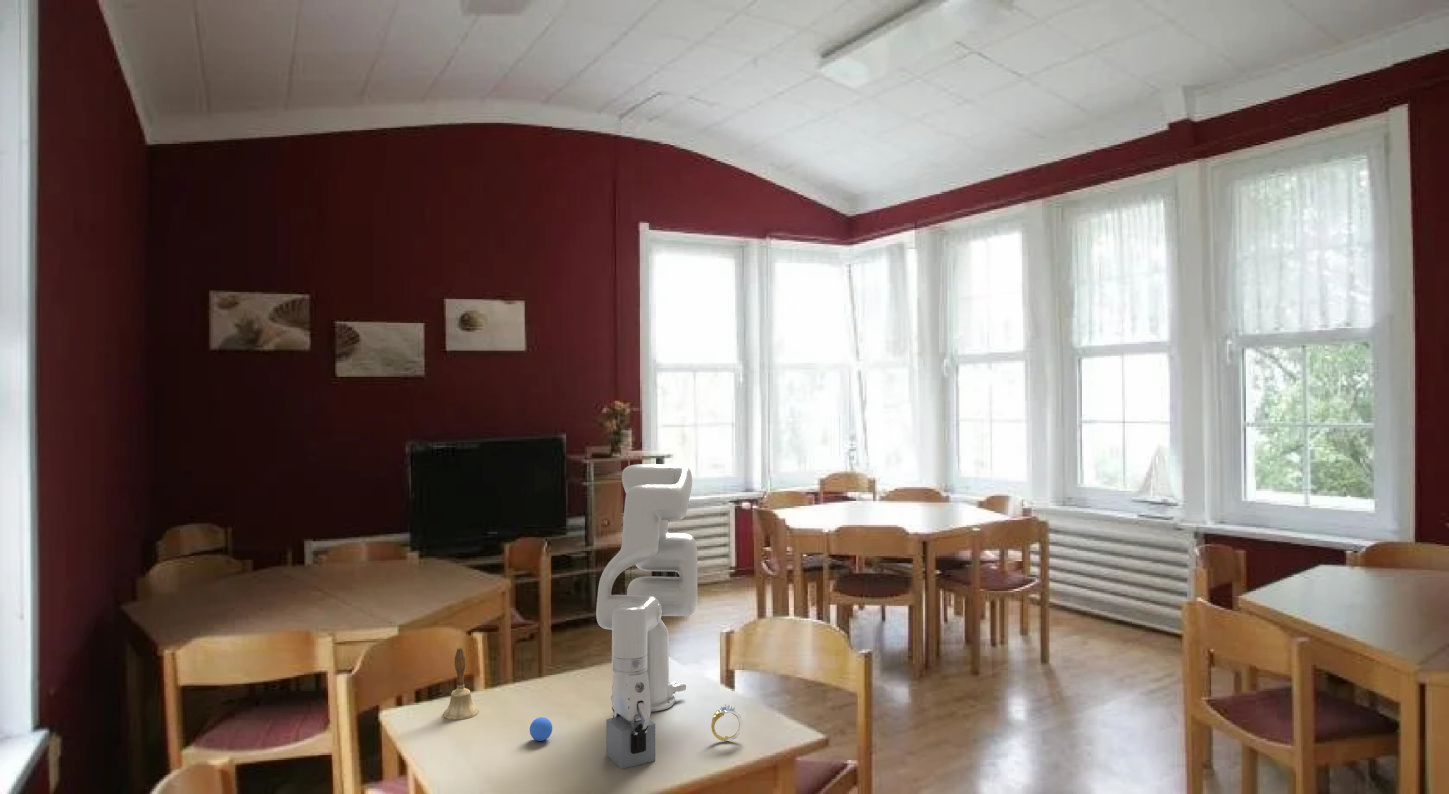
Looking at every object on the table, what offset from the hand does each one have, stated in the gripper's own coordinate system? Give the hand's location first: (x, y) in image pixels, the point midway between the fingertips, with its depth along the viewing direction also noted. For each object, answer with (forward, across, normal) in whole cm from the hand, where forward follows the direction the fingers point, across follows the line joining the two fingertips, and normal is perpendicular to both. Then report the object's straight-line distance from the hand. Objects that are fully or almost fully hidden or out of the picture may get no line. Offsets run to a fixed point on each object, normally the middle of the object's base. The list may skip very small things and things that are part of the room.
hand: (629, 744), depth 183 cm
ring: (+3, -4, -22) cm, 23 cm away
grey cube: (+3, 0, 0) cm, 3 cm away
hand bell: (+3, +44, +24) cm, 50 cm away
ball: (0, +19, +13) cm, 23 cm away
